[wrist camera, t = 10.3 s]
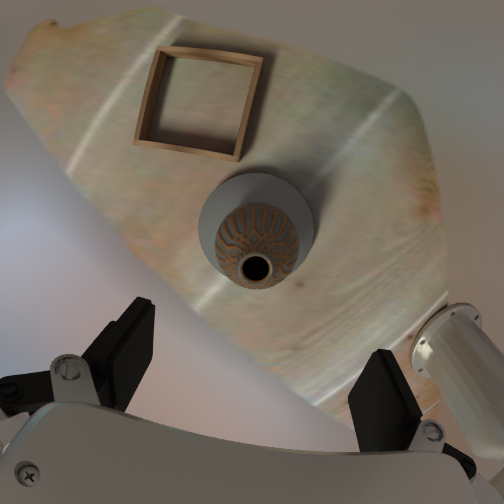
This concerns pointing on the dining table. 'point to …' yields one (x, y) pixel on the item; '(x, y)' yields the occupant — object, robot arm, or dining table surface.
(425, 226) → the dining table surface
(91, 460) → the robot arm
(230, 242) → the vase
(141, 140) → the holder
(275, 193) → the plate
